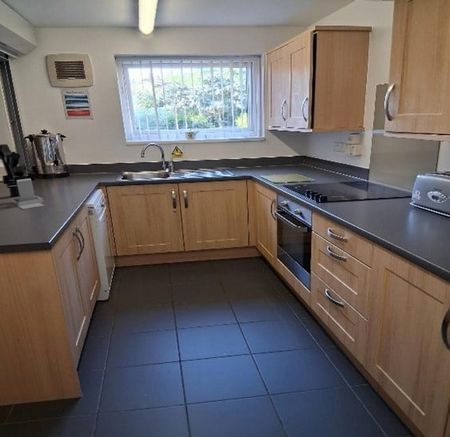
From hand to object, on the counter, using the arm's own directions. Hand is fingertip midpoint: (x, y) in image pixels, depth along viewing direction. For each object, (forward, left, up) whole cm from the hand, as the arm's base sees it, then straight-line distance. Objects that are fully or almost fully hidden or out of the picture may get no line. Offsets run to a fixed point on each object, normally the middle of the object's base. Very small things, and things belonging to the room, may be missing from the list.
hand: (23, 188), depth 230 cm
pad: (+19, +4, -9) cm, 21 cm away
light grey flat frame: (+2, +1, -9) cm, 9 cm away
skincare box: (+6, +2, -9) cm, 11 cm away
